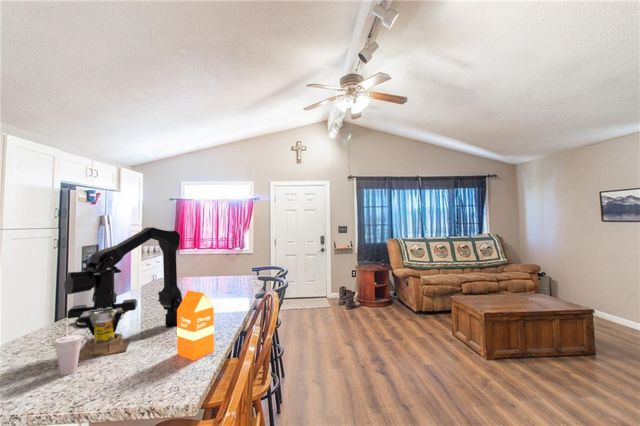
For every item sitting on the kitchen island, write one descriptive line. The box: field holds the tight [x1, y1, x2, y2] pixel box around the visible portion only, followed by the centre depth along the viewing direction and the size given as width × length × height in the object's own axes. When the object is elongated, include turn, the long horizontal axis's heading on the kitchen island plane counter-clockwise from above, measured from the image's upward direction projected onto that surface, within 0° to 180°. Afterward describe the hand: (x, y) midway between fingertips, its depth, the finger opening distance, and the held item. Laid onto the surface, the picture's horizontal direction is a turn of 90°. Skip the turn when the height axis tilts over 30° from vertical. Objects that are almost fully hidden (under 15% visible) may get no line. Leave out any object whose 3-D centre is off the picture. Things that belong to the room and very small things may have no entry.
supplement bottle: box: [93, 311, 115, 344], centre depth 101 cm, size 6×6×10 cm
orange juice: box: [176, 289, 215, 361], centre depth 98 cm, size 8×9×20 cm
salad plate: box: [75, 309, 129, 328], centre depth 134 cm, size 19×18×5 cm
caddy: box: [78, 332, 132, 361], centre depth 101 cm, size 14×12×4 cm
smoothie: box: [53, 322, 84, 376], centre depth 86 cm, size 6×6×14 cm
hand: (104, 333), depth 102 cm, fingers closed on supplement bottle, 5 cm apart
